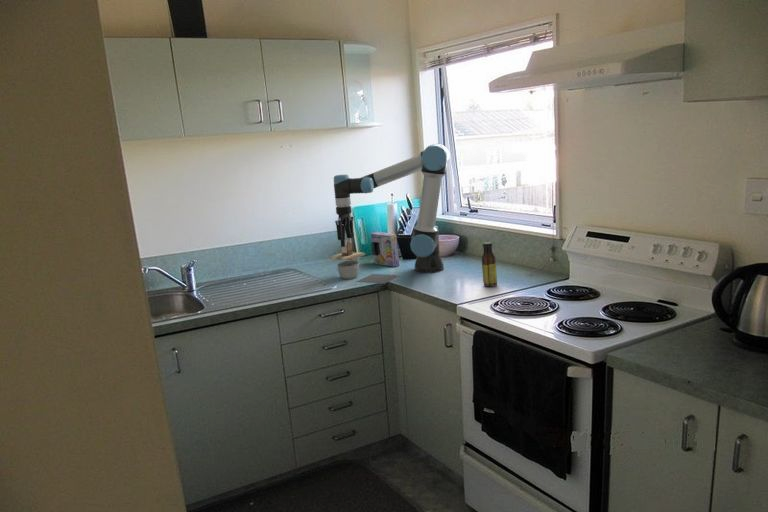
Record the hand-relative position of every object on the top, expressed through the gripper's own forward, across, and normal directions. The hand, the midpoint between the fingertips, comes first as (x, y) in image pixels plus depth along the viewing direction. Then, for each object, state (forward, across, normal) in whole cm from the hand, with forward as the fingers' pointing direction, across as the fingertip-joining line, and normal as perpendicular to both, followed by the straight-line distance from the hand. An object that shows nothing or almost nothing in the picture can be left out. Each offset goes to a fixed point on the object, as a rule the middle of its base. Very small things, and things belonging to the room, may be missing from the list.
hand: (347, 251), depth 292 cm
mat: (+13, 0, +17) cm, 22 cm away
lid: (+3, 0, 0) cm, 3 cm away
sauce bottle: (+13, -2, +74) cm, 75 cm away
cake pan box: (+14, -30, +5) cm, 33 cm away
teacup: (+14, 0, 0) cm, 14 cm away
